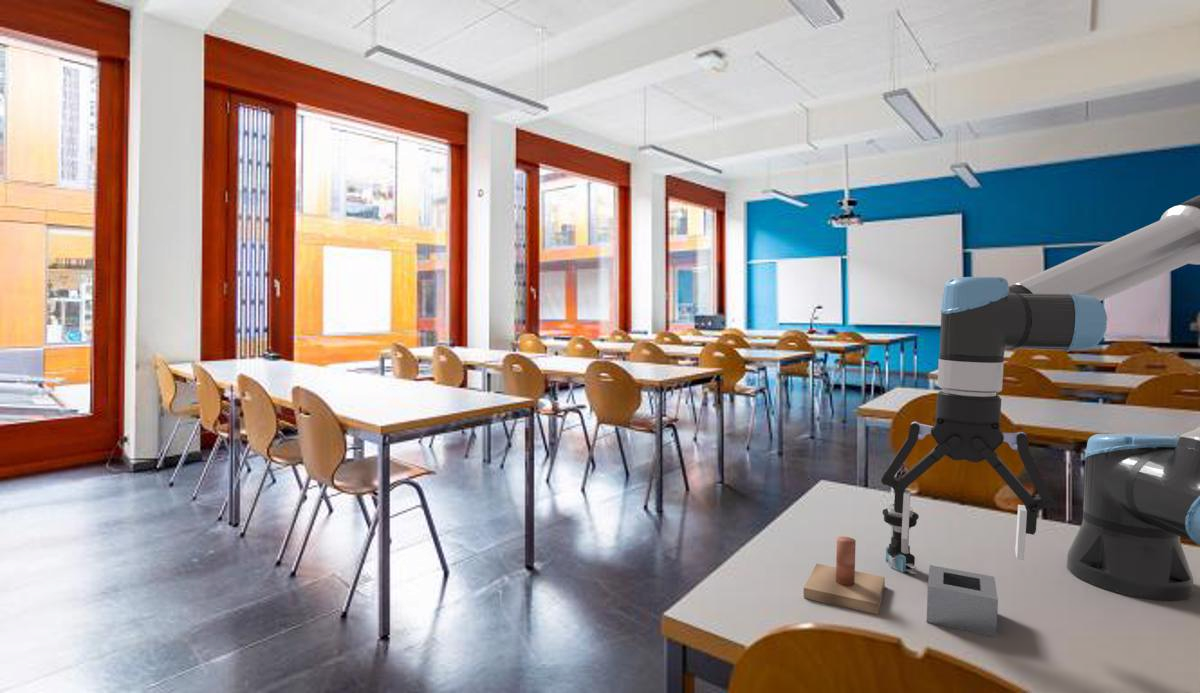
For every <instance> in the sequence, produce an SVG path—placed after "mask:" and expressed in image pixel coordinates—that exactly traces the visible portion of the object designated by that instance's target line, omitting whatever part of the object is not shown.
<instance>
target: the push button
mask: <svg viewBox="0 0 1200 693" xmlns="http://www.w3.org/2000/svg"><path fill="white" fill-rule="evenodd" d="M882 515H883V521H884V522H885V523H886V524H888V525H889V526H890V542H889V543H888V546H886V547H885V562H886V563H887V564H888V566H889V567H890V568H895V569H896V570H898V571H899V572H900V573H910V574H911V575H917V572H915V570H914V569H917V566H915V562H916V561H915V560H916V559H915V558H916V557H915V555H914V554H912V553H911V546H910V544H909V543H910V542H909V541H910V531H909V532H908V538H907V539H903V538H901V535H902V515H903V513H896V512H895V510H894V503H891V504H889V505H888V508H884V509H883V510H882ZM919 516H920V515H919V513H916V512H915V511H914V510H913V507H911V506H910V512H909V530H911V528H912V527H916V525H917V523H918V522H917V521H918V519H919Z"/></svg>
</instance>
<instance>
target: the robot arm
mask: <svg viewBox="0 0 1200 693" xmlns="http://www.w3.org/2000/svg"><path fill="white" fill-rule="evenodd" d="M1188 264H1189V265H1200V194H1199V195H1197V196H1195V197H1193V198H1190V199H1188V200H1186V201H1183V202H1182V203H1180V204H1178V205H1174V206H1173V207H1171V208H1168V209H1167V210H1165V212H1163V214H1162V215H1161V217H1160V219H1159V220H1157V221H1155V222H1153V223H1151V224H1149V225H1146V226H1144V227H1142V228H1139V229H1137V230H1135V231H1132V232H1130V233H1128V234H1126V235H1123V236H1120V237H1119V238H1116V239H1114V240H1112V241H1109V242H1107V243H1104V244H1102V245H1101V246H1098V247H1095V248H1093V249H1091V250H1089V251H1087V252H1085V253H1082V254H1080V255H1077V256H1076V257H1072V258H1070V259H1068V260H1065V261H1064V262H1061V263H1059V264H1057V265H1055V266H1052V267H1049V268H1048V269H1046V270H1043V271H1041V272H1038V273H1037V274H1034V275H1031V276H1029V277H1027V278H1024V279H1022V280H1020V281H1018V282H1015V283H1014V284H1012V285H1009V281H1008V280H1007V279H1006V278H1004V277H995V276H963V277H953V278H950V279H949V280H947V281H946V282H945V284H944V287H943V292H942V299H941V300H942V301H941V307H940V309H939V310H940V311H939V312H940V314H941V315H940V335H939V336H940V338H939V356H938V357H939V358H938V365H937V366H938V367H937V368H938V369H937V371H938V372H937V383H936V384H937V387H938V388H939V389H941V390H940V391H938V392H937V394H936V405H935V421H934V424H932V425H928V424H924V423H920V422H919V421H917V420H913V421H912V422H911V424H910V426H909V429H908V430H909V431H908V436H907V437H906V439H905V441H904V443H903V444H902V446H901V447H900V449H899V450H898V451H897V453H896V455H895V456H894V458H893V459H892V461H891V462H890V464H889V466H888V467H887V468H886V470H885V472H884V473H883V474H882V477H881V481H880V482H881V483H882V485H885V486H888V487H890V488H892V489H893V490H894V501H893V504H894V510H895V512H896V513H903V515H902V535H901V538H903V539H907V538H908V532H909V533H910V529H909V512H910V507H911V488H908V487H909V486H910V485H912V483H913V482H915V481H916V480H917V479H918V478H920V477H921V476H922V475H923V474H924V473H925V472H926V471H928V470H929V469H930V468H931V467H933V466H934V465H935V464H936V463H937V462H939V461H941V459H942V458H944V457H945V456H946V457H947V458H950V459H951V460H952V461H967V462H970V463H976V464H978V463H981V462H983V461H985V460H986V462H987V463H988V464H989V465H990V466H991V468H993V470H994V471H995V472H996V473H997V474H998V475H999V477H1000V478H1001V479H1002V480H1003V481H1004V482H1005V483H1006V486H1008V487H1009V489H1011V491H1013V493H1014V494H1015V495H1016V497H1018V499H1019V500H1020V501H1021V502H1022V504H1017V518H1016V531H1015V532H1016V535H1015V545H1014V546H1015V550H1014V554H1015V556H1016V560H1021V561H1025V552H1026V551H1025V549H1026V548H1025V547H1026V535H1027V534H1029V535H1033V536H1034V535H1035V533H1036V532H1037V523H1038V522H1037V520H1038V512H1039V511H1040V510H1043V509H1053V508H1055V507H1056V506H1057V505H1056V501H1055V499H1054V497H1053V495H1052V494H1051V492H1050V489H1049V487H1048V485H1047V484H1046V482H1045V480H1044V478H1043V476H1042V475H1041V472H1040V470H1039V469H1038V467H1037V464H1036V463H1035V461H1034V458H1033V456H1032V455H1031V453H1030V446H1029V445H1030V444H1029V438H1028V435H1027V434H1026V433H1025V432H1024V431H1022V430H1018V431H1017V432H1002V429H1001V413H1002V412H1001V410H1002V398H1001V396H1000V395H998V393H1000V392H1002V391H1003V378H1004V364H1005V363H1004V362H1005V352H1006V351H1005V350H1015V349H1019V350H1039V351H1040V350H1041V351H1062V352H1066V353H1067V352H1070V351H1087V350H1090V349H1092V348H1094V347H1096V346H1097V345H1099V343H1101V341H1102V339H1103V338H1104V336H1105V334H1106V331H1107V328H1108V327H1107V324H1108V323H1107V321H1108V315H1107V311H1106V308H1105V307H1104V305H1103V303H1102V302H1101V301H1104V300H1107V299H1108V298H1109V299H1110V298H1111V297H1112V296H1115V295H1118V294H1120V293H1123V292H1125V291H1128V290H1130V289H1131V288H1134V287H1136V286H1139V285H1141V284H1143V283H1145V282H1148V281H1151V280H1153V279H1155V278H1158V277H1160V276H1163V275H1165V274H1167V273H1169V272H1172V271H1173V270H1174V271H1175V270H1176V269H1179V268H1181V267H1183V266H1186V265H1188ZM927 435H931V437H932V438H933V439H934V441H935V442H936V443H937V444H936V445H935V447H933V448H932V449H931V450H930V451H929V452H928V453H927V454H926V455H924V457H922V458H921V459H919V461H918V462H917V463H916V464H915V465H913V466H912V467H911V468H910V469H909V470H907V471H906V472H905V473H904V474H902V476H901V477H899V478H897V477H896V475H897V474H898V472H899V470H900V469H901V467H902V466H903V464H904V463H905V461H906V459H907V458H908V457H909V455H910V454H911V452H912V451H913V449H914V447H915V446H916V444H917V442H918V440H923V439H925V438H926V436H927ZM1003 442H1005V443H1008V445H1009V447H1010V448H1011V450H1014V451H1017V453H1018V455H1019V456H1018V457H1020V460H1021V462H1022V464H1023V466H1024V468H1025V470H1026V471H1027V474H1028V476H1029V477H1030V480H1031V481H1032V483H1033V485H1034V487H1035V489H1036V491H1037V493H1038V496H1034V497H1033V495H1032V494H1031V493H1030V492H1029V491H1028V489H1026V487H1025V486H1024V485H1023V484H1022V482H1020V480H1019V479H1018V477H1017V476H1015V475H1014V473H1013V472H1012V471H1011V469H1010V468H1009V467H1008V466H1007V465H1006V463H1005V462H1003V460H1002V459H1001V458H1000V456H999V455H998V454H997V453H996V452H995V451H996V450H998V448H999V447H1000V446H1001V445H1002V444H1003ZM1086 443H1087V444H1086V449H1085V454H1084V457H1083V458H1084V460H1085V461H1084V483H1083V484H1084V485H1083V486H1084V487H1083V505H1082V506H1083V508H1082V509H1083V510H1082V511H1083V513H1082V523H1081V526H1080V527H1079V530H1078V531H1077V533H1076V535H1075V538H1074V539H1073V540H1072V543H1071V545H1070V547H1069V549H1068V551H1067V556H1066V557H1067V558H1066V569H1067V570H1068V571H1069V572H1070V573H1071V574H1072V575H1074V576H1076V577H1077V578H1079V579H1081V580H1082V581H1084V582H1087V583H1089V584H1091V585H1094V586H1097V587H1099V588H1101V589H1105V590H1108V591H1112V592H1116V593H1119V594H1123V595H1126V596H1133V597H1137V598H1144V599H1150V600H1161V601H1180V600H1181V601H1182V600H1185V599H1188V598H1189V599H1190V598H1191V597H1192V596H1193V593H1194V576H1193V574H1192V571H1191V568H1190V566H1189V563H1188V560H1187V557H1186V554H1185V552H1184V549H1183V546H1182V541H1181V538H1184V539H1187V541H1191V542H1194V543H1196V544H1197V545H1198V546H1200V426H1199V427H1197V428H1196V429H1194V430H1190V431H1188V432H1185V433H1182V434H1180V436H1173V435H1172V436H1171V435H1163V434H1162V435H1161V434H1160V435H1159V434H1144V433H1142V434H1141V433H1097V434H1094V435H1091V436H1090V437H1089V438H1088V440H1087V442H1086Z"/></svg>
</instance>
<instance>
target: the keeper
mask: <svg viewBox="0 0 1200 693" xmlns="http://www.w3.org/2000/svg"><path fill="white" fill-rule="evenodd" d="M856 543H857V542H856V539H854V538H853V537H849V536H838V537H837V538H836V555H835V556H836V558H835V559H836V561H835V563H836V564H835V565H836V566H831V565H825V564H820V563H816V565H815V566H814V568H813V570H812V571H811V573H810V576H809V577H808V579H807V581H806V583H805V585H804V586H803V598H804V599H806V600H807V599H809V600H813V601H817V602H820V603H827V604H831V605H835V606H839V607H844V608H849V609H853V610H858V611H862V612H866V613H870V614H875V615H878V614H879V610H880V606H881V602H882V598H883V594H884V590H885V582H886V581H885V580H886V578H885V576H881V575H876V574H872V573H867V572H862V571H856Z"/></svg>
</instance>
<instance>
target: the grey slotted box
mask: <svg viewBox="0 0 1200 693" xmlns="http://www.w3.org/2000/svg"><path fill="white" fill-rule="evenodd" d="M928 568H929V569H928V580H927V596H926V597H927V599H926V600H927V601H926V602H927V603H926V604H927V605H926V623H930V624H935V625H939V626H943V627H946V628H947V627H948V628H953V629H957V630H962V631H966V632H972V633H975V634H980V635H984V636H990V637H993V638H997V631H998V630H997V627H998V608H999V607H998V604H999V598H998V592H997V586H996V580H995V576H993V575H989V574H982V573H976V572H970V571H965V570H960V569H954V568H948V567H942V566H937V565H934V564H933V565H931V564H929V567H928Z"/></svg>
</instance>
